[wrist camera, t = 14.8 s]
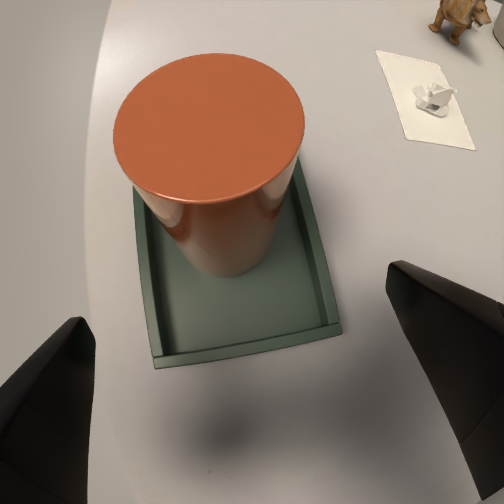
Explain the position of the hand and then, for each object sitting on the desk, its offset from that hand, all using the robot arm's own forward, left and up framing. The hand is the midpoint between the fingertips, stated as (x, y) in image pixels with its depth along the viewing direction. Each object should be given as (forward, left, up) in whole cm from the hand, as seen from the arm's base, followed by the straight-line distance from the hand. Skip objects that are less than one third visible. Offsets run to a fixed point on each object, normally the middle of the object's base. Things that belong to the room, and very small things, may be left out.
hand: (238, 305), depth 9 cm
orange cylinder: (+4, +3, -8) cm, 9 cm away
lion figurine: (+38, -5, -9) cm, 40 cm away
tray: (+4, +3, -9) cm, 10 cm away
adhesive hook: (+22, -4, -9) cm, 24 cm away
